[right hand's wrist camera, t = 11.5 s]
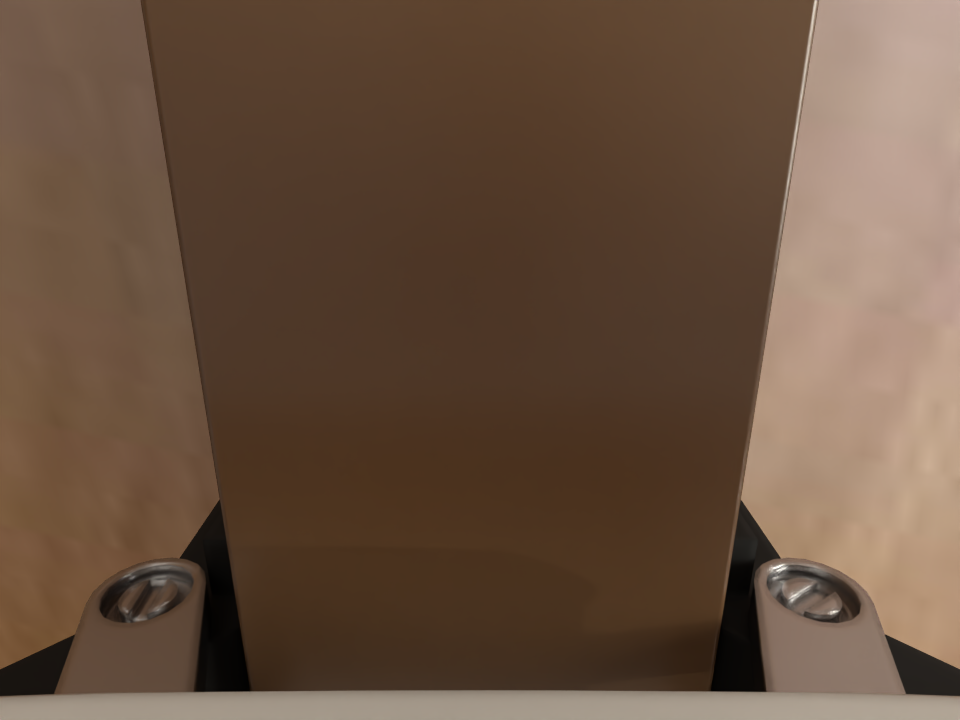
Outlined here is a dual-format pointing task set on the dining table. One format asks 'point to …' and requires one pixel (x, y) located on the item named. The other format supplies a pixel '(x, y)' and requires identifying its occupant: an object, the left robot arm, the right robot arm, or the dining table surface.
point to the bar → (480, 323)
